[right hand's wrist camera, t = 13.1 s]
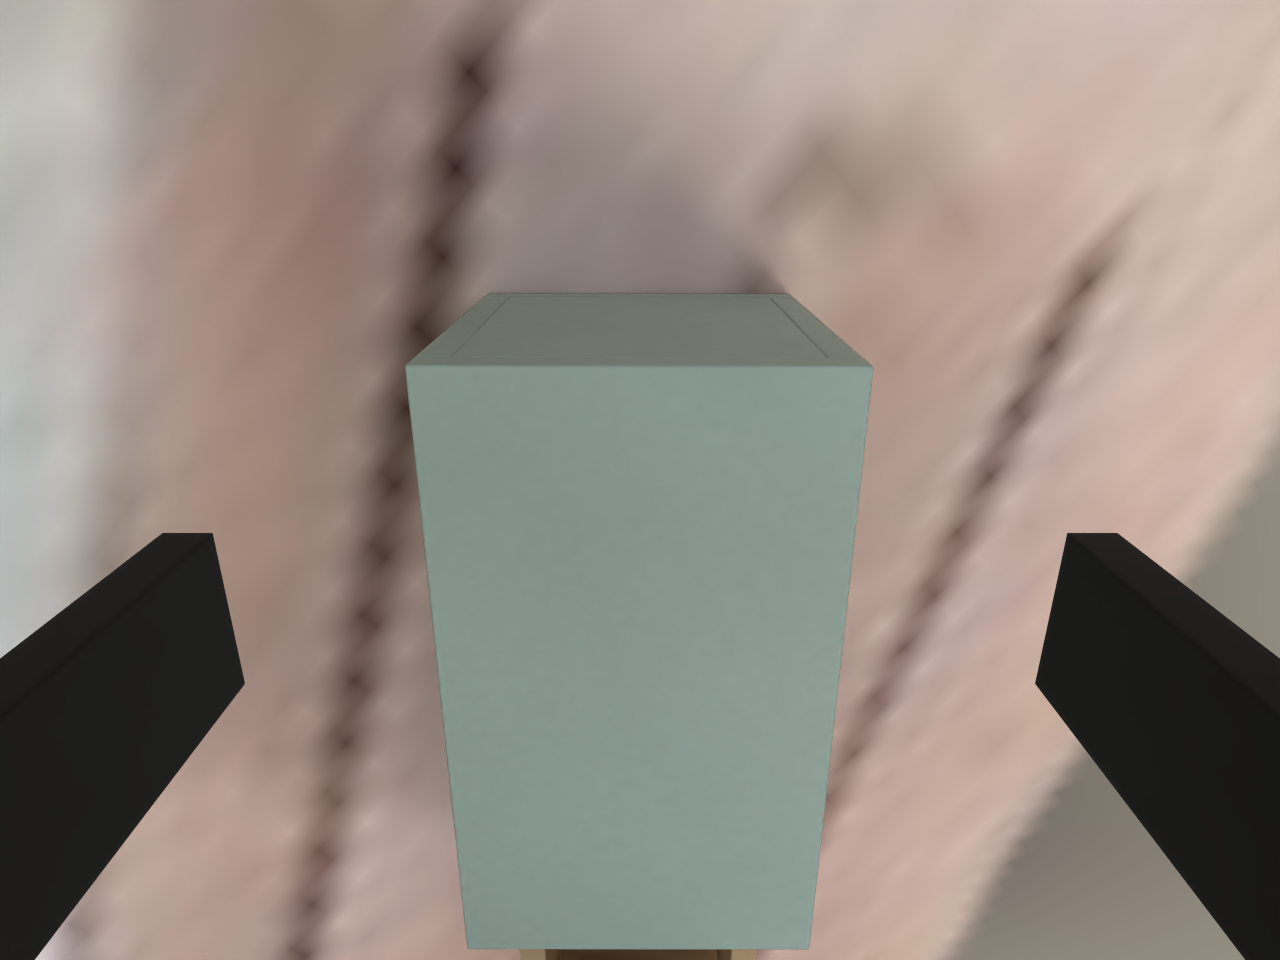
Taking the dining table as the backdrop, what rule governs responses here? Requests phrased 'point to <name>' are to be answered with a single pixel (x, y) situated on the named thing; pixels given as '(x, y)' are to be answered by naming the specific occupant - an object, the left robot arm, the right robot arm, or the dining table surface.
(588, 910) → the grey-green rectangular block
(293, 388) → the dining table surface
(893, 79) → the dining table surface
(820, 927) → the dining table surface
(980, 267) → the dining table surface
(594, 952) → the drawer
